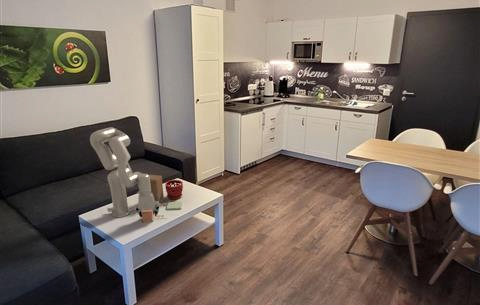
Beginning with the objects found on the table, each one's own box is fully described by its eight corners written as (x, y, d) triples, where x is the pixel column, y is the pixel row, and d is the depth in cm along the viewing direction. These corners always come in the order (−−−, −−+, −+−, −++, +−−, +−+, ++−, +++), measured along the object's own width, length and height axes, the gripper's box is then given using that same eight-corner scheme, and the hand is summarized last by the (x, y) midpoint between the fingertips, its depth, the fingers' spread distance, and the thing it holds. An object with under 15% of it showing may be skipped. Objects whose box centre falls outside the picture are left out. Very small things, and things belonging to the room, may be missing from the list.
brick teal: (151, 212, 221) (150, 204, 219) (152, 209, 225) (151, 201, 223) (158, 212, 221) (157, 204, 219) (159, 208, 226) (158, 201, 224)
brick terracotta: (142, 221, 208) (141, 213, 207) (144, 217, 214) (143, 209, 212) (151, 221, 209) (151, 213, 207) (153, 217, 215) (152, 209, 213)
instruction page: (154, 218, 212) (154, 218, 212) (155, 214, 218) (155, 214, 217) (166, 218, 213) (166, 217, 213) (167, 213, 218) (167, 213, 218)
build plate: (166, 210, 224) (166, 208, 224) (168, 203, 233) (168, 202, 233) (180, 209, 225) (180, 207, 225) (181, 202, 234) (181, 201, 234)
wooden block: (158, 205, 231) (156, 180, 225) (146, 204, 233) (143, 179, 227) (164, 199, 240) (162, 175, 234) (152, 198, 242) (149, 174, 236)
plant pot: (163, 199, 240) (162, 185, 237) (171, 192, 252) (170, 178, 249) (178, 201, 236) (177, 187, 233) (186, 194, 248) (185, 180, 245)
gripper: (130, 196, 201) (134, 220, 206) (158, 193, 203) (161, 217, 208) (133, 191, 208) (136, 214, 213) (159, 189, 210) (162, 212, 215)
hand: (148, 216), depth 210 cm, fingers open, 9 cm apart
